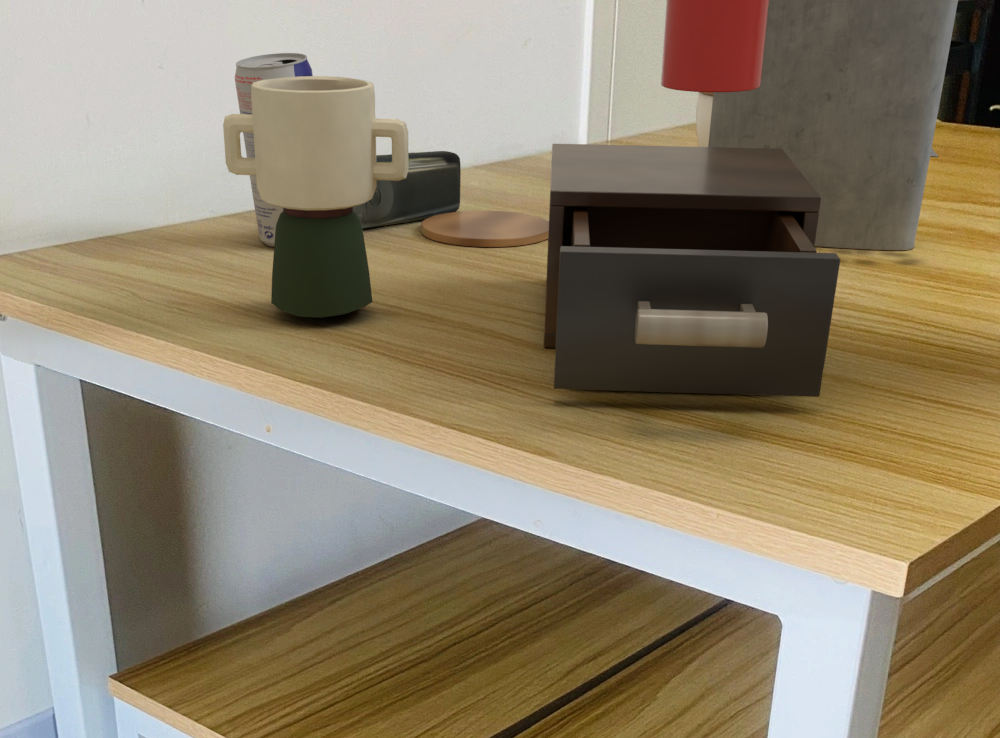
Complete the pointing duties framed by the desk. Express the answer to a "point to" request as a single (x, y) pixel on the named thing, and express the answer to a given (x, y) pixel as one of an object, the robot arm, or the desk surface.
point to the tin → (714, 45)
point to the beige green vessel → (317, 184)
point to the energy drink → (244, 78)
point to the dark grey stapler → (415, 191)
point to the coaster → (485, 228)
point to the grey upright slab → (849, 109)
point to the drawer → (692, 303)
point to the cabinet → (668, 190)
